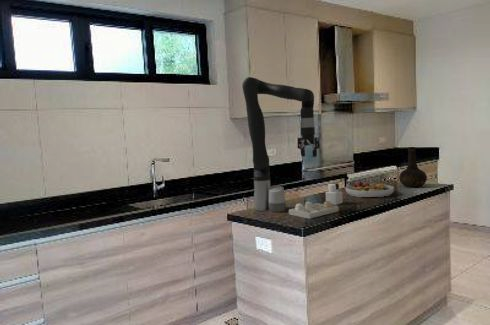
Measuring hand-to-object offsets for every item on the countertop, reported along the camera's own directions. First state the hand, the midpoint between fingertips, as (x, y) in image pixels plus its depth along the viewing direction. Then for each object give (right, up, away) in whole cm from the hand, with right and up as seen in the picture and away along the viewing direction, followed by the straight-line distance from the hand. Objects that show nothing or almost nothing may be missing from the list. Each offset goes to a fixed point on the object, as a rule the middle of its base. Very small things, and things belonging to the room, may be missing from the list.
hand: (308, 156), depth 209 cm
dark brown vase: (+84, -20, +63) cm, 107 cm away
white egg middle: (0, -30, -2) cm, 30 cm away
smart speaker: (-17, -31, +5) cm, 35 cm away
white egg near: (-6, -30, -6) cm, 31 cm away
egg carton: (+2, -31, -5) cm, 31 cm away
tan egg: (+10, -29, -3) cm, 31 cm away
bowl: (+47, -25, +44) cm, 69 cm away
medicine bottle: (+18, -28, +20) cm, 39 cm away
